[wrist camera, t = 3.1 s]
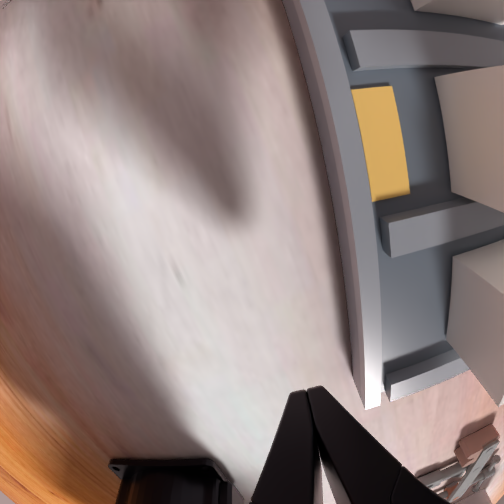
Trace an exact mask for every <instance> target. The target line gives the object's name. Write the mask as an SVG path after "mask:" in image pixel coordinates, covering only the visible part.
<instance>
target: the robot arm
mask: <svg viewBox="0 0 504 504" xmlns="http://www.w3.org/2000/svg"><path fill="white" fill-rule="evenodd" d="M319 454H320V455H319ZM320 458H321V461H320ZM321 462H322V465H323V468H324V471H325V474H326V477H327V479H328V482H329V485H330V487H331V490H332V493H333V496H334V498H335V501H336V504H451V503H450V502H448V501H447V500H445V499H443V498H442V497H441V496H439V495H438V494H436V493H435V492H434V491H432V490H431V489H429V488H428V487H427V486H426V485H424V484H423V483H422V482H421V481H420V480H419V479H417V478H416V477H415V476H414V475H413V474H412V473H411V472H410V471H409V470H408V469H406V468H405V467H404V466H402V464H401V463H400V462H399V461H398V460H397V459H396V458H395V457H394V456H393V455H391V454H390V453H389V452H388V451H387V450H386V449H385V448H384V447H383V446H382V445H381V444H380V443H379V442H378V441H377V440H376V439H375V438H374V437H373V436H372V435H371V434H370V433H369V432H368V431H367V430H366V429H365V428H364V427H363V426H362V425H361V424H360V423H359V422H358V421H357V420H356V419H355V418H354V417H353V416H352V415H351V414H350V413H349V412H348V411H347V410H346V409H345V408H344V407H343V406H342V405H341V404H340V403H339V402H338V401H337V400H336V399H335V398H334V397H333V396H332V395H331V394H330V393H329V392H328V391H327V390H326V389H325V388H324V387H323V386H316V387H312V388H308V389H307V392H306V390H299V391H295V392H291V393H290V395H289V397H288V400H287V403H286V406H285V409H284V412H283V415H282V418H281V421H280V424H279V427H278V429H277V432H276V435H275V438H274V441H273V443H272V446H271V449H270V452H269V454H268V457H267V460H266V462H265V465H264V468H263V470H262V473H261V475H260V478H259V481H258V483H257V486H256V488H255V491H254V493H253V496H252V498H251V501H252V502H250V503H249V504H323V491H322V470H321ZM108 467H109V468H110V469H111V470H112V471H113V472H114V473H115V474H116V475H117V476H118V477H119V478H120V479H121V484H120V488H119V491H118V495H117V499H116V503H115V504H244V498H243V497H242V496H241V494H240V493H239V492H238V490H237V489H236V488H235V486H234V485H233V484H232V483H231V482H229V481H228V480H227V479H226V477H225V476H224V474H223V473H222V472H221V470H220V469H219V467H218V466H217V465H216V463H215V462H214V461H212V460H210V459H190V460H119V459H111V460H110V461H109V465H108Z"/></svg>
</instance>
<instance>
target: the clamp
mask: <svg viewBox="0 0 504 504" xmlns="http://www.w3.org/2000/svg"><path fill="white" fill-rule="evenodd" d="M499 438H500V435H499V434H498V432H497V431H496V429H495V427H494V426H493V425H492V424H490V425H488V426H486V427H484V428H482V429H481V430H479V431H477V432H475V433H472V434H470V435H468V436H466V437H465V438H463V439H461V440H460V441H459V442H458V443H459V445H460V447H459V448H457V449H456V450H455V451H454V453H455V455H456V457H457V459H458V461H459V462H458V463H456V464H454V465H452V466H450V467H448V468H446V469H444V470H441V471H440V470H439V469H438V470H436V471H434V472H432V473H429V474H427V475H424V476H422V477H420V478H418V479H419V480H420V481H421V482H422V483H423V484H424V485H426V486H427V487H428V488H429V489H431V488H433V487H436V486H438V485H440V483H441V482H442V481H444V480H446V479H449V478H454V477H461V476H462V475H463V473H464V471H465V470H466V473H465V475H464V476H463V478H462V479H461V481H460V482H459V484H458V482H457V481H456V482H453V483H451V484H450V485H448V486H447V487H446V488H445V489H444V491H443V492H441V493H439V494H438V495H439V496H441V497H442V498H443V499H444V498H447V501H448V502H453V501H455V500H457V499H459V498H460V497H462V495H463V494H464V493H465V491H466V490H467V489H468V488H469V486H470V485H472V484H474V483H476V482H477V481H478V483H477V484H476V485H474V486H473V487H472V491H473V492H477V491H478V490H479V488H480V487H479V486H480V485H481V484H482V482H483V481H484V480H485V479H487V478H489V477H490V476H492V475H494V473H495V467H494V466H495V464H497V463H499V462H500V456H499V455H495V456H493V458H492V463H491V464H490V465H489V466H487V467H485V468H483V467H484V465H485V464H486V462H487V461H488V459H489V458H490V456H491V455H492V453H493V452H494V450H495V449H496V447H497V445H498V444H499V440H498V439H499ZM482 468H483V469H482Z"/></svg>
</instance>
